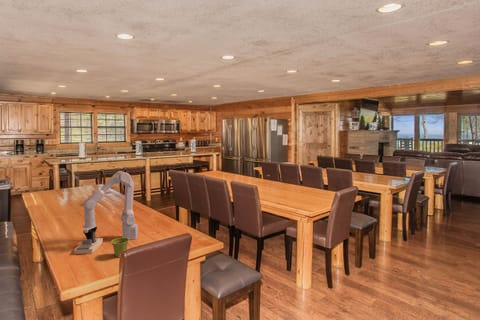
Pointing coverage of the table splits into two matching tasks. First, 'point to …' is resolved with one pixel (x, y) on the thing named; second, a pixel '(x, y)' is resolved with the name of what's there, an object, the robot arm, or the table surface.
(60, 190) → the table surface
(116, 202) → the table surface
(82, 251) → the socket plate
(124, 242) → the plant pot
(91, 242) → the plug
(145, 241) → the table surface
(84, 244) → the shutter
